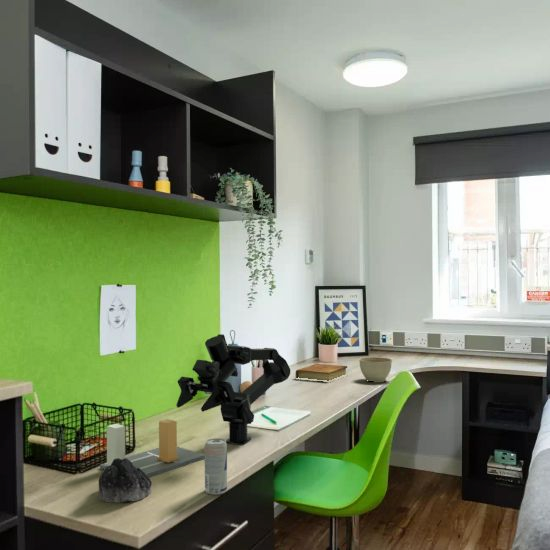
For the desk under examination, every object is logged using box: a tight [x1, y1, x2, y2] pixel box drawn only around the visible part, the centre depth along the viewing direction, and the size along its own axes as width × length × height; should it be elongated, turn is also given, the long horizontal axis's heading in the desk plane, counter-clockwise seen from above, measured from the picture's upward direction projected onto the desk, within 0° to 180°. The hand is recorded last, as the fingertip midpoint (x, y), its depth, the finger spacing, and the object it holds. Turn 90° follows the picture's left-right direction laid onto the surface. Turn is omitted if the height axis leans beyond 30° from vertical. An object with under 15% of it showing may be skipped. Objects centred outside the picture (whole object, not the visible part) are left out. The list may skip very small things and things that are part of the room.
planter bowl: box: [358, 356, 393, 383], centre depth 280 cm, size 16×16×11 cm
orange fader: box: [157, 418, 179, 463], centre depth 156 cm, size 4×5×10 cm
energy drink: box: [204, 438, 228, 496], centre depth 136 cm, size 5×5×12 cm
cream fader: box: [104, 423, 126, 466], centre depth 151 cm, size 4×5×10 cm
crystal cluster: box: [98, 458, 153, 504], centre depth 134 cm, size 13×14×10 cm
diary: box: [295, 363, 348, 381], centre depth 291 cm, size 23×19×6 cm
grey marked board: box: [99, 446, 205, 478], centre depth 157 cm, size 24×16×1 cm, turn 140°
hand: (189, 408), depth 158 cm, fingers open, 9 cm apart
